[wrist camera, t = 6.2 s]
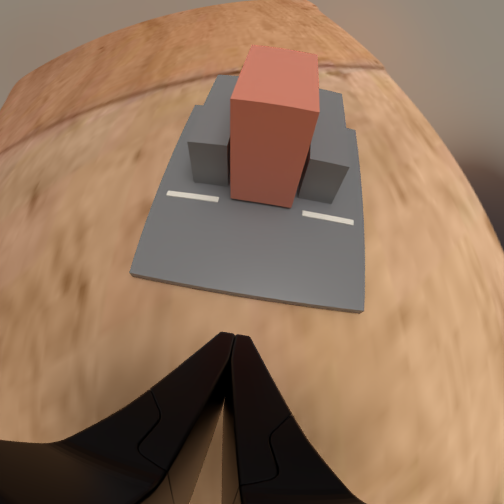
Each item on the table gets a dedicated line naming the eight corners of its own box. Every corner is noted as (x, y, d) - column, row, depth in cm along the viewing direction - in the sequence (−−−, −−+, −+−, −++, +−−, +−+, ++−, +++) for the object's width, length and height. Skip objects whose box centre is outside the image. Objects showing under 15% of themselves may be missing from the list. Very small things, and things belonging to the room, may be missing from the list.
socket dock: (359, 313, 21) (396, 291, 16) (132, 276, 22) (104, 244, 16) (353, 135, 30) (369, 96, 24) (195, 110, 30) (191, 68, 25)
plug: (291, 208, 24) (319, 112, 15) (230, 198, 24) (230, 98, 15) (296, 141, 27) (317, 54, 18) (246, 133, 27) (252, 44, 18)
